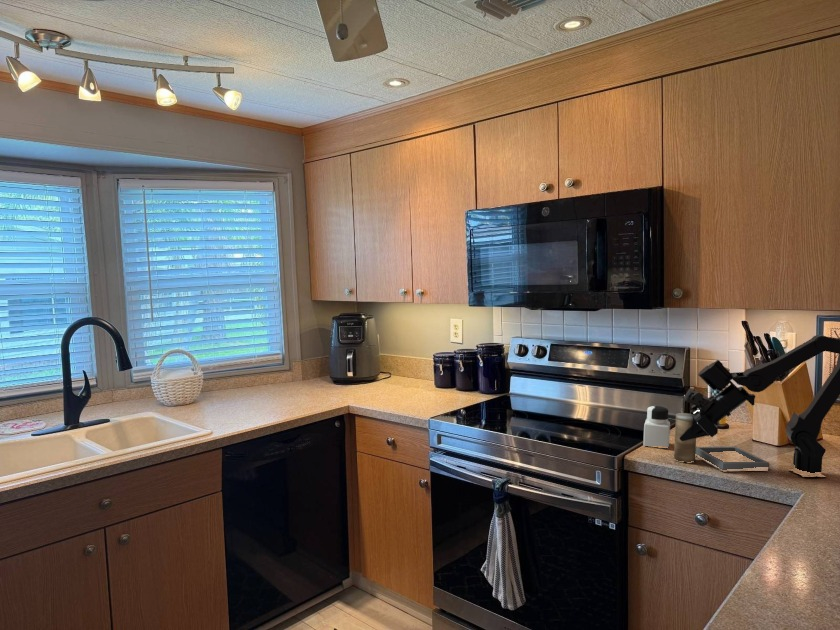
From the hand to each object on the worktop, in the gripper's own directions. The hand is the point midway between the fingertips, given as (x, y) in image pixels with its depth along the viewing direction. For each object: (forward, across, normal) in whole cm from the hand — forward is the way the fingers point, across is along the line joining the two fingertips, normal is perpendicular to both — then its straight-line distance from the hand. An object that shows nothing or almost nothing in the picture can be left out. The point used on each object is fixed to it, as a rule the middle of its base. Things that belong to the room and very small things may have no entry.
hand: (680, 437), depth 170 cm
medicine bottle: (+9, -13, 0) cm, 16 cm away
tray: (-5, -2, +14) cm, 15 cm away
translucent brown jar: (+4, 0, +6) cm, 7 cm away
